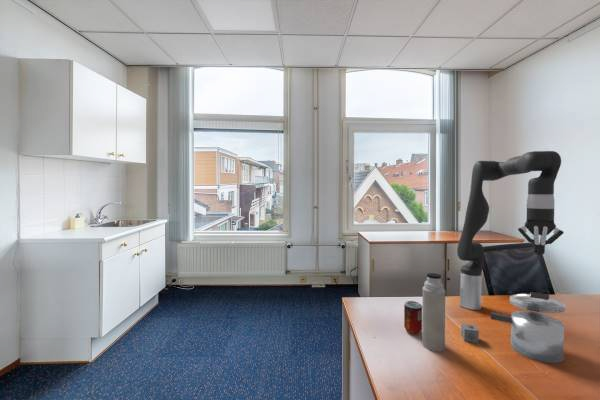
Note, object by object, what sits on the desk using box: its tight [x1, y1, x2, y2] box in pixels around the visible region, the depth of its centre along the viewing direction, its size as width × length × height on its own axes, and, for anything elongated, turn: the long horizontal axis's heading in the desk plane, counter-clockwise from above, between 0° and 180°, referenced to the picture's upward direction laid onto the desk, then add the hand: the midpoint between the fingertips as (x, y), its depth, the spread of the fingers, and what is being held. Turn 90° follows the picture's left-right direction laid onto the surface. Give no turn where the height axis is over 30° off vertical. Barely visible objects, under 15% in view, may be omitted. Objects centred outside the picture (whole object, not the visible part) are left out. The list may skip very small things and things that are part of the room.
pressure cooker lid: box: [509, 291, 566, 314], centre depth 105 cm, size 16×18×2 cm
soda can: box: [403, 300, 422, 336], centre depth 120 cm, size 7×7×12 cm
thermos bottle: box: [421, 272, 446, 352], centre depth 108 cm, size 8×8×28 cm
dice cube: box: [460, 322, 480, 344], centre depth 113 cm, size 5×5×5 cm
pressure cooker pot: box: [490, 310, 565, 364], centre depth 107 cm, size 22×17×12 cm
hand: (539, 254), depth 101 cm, fingers closed
